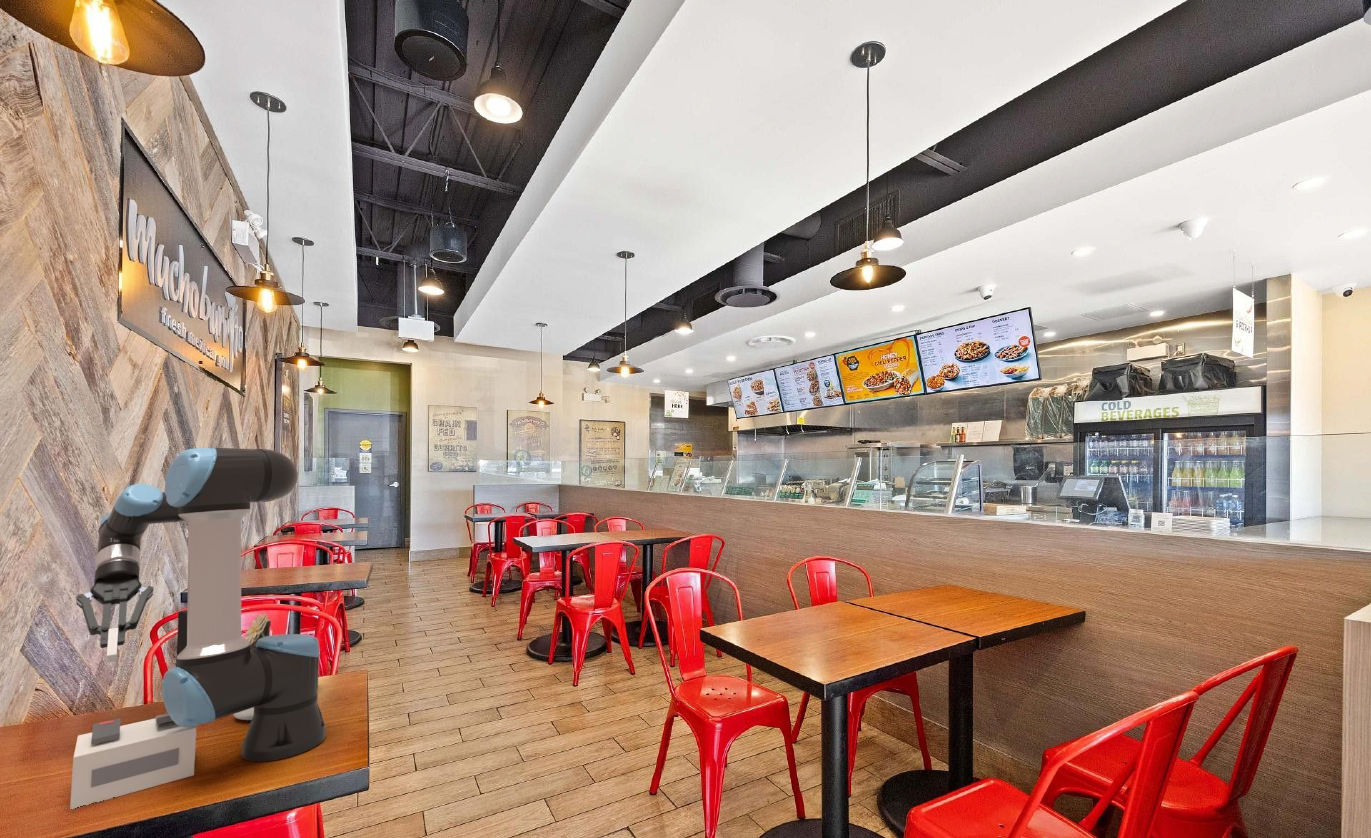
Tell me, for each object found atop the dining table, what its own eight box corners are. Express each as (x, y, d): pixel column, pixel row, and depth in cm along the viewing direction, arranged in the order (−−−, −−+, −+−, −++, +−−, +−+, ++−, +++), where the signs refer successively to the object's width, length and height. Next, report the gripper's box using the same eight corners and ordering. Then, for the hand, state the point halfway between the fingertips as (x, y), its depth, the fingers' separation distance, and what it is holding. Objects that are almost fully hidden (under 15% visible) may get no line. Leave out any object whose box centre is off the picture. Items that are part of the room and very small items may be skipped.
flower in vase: (237, 711, 148) (242, 608, 150) (292, 702, 153) (295, 603, 155) (226, 731, 136) (231, 620, 138) (285, 721, 142) (290, 614, 143)
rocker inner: (155, 721, 120) (155, 715, 120) (180, 715, 123) (180, 710, 123) (156, 723, 116) (156, 717, 116) (181, 718, 119) (182, 712, 119)
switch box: (74, 784, 114) (78, 733, 115) (189, 754, 126) (191, 708, 126) (69, 810, 105) (73, 755, 106) (193, 775, 117) (196, 726, 117)
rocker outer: (93, 729, 114) (93, 723, 114) (120, 722, 117) (120, 717, 117) (91, 744, 110) (91, 739, 110) (119, 738, 113) (119, 732, 112)
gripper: (154, 575, 145) (151, 661, 131) (78, 582, 136) (67, 676, 123) (156, 555, 141) (153, 641, 128) (78, 562, 133) (66, 655, 119)
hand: (111, 658), depth 125 cm, fingers closed
